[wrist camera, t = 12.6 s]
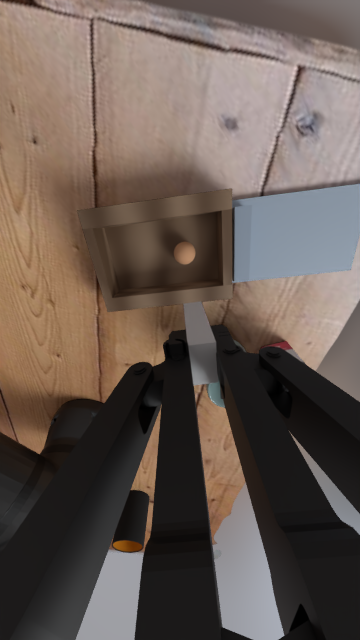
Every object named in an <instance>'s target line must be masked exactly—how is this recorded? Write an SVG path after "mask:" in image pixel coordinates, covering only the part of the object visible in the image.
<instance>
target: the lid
mask: <svg viewBox="0 0 360 640" xmlns="http://www.w3.org/2000/svg"><path fill="white" fill-rule="evenodd" d="M359 235H360V184H354V185H346V186H338V187H331V188H323V189H315V190H308V191H300V192H293V193H285V194H277V195H270V196H262V197H254V198H247V199H239V200H232V283H235V282H244V281H253V280H263V279H272V278H282V277H291V276H300V275H310V274H319V273H328V272H338V271H347V270H351V267H352V263H353V259H354V255H355V251H356V247H357V243H358V239H359Z"/></svg>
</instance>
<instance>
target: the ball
mask: <svg viewBox="0 0 360 640" xmlns="http://www.w3.org/2000/svg"><path fill="white" fill-rule="evenodd" d="M174 257H175V259H176V261H177V262H179V263H180V264H189V263H191V262H192V261H193V259H194V258H195V248H194V246H193V245H192V244H191V243H189V242H181V243H179V244H178V245H177V246H176V247H175V249H174Z"/></svg>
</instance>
